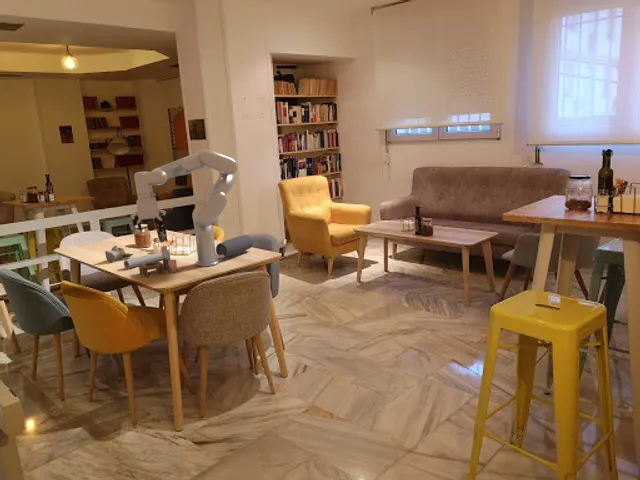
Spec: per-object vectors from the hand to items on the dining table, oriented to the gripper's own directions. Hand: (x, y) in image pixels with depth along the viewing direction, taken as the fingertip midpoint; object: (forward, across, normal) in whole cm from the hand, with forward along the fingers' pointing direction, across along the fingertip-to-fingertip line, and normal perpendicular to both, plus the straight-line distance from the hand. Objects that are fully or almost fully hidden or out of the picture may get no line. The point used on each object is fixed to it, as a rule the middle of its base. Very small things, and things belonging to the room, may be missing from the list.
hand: (150, 229), depth 259 cm
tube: (+23, +5, -21) cm, 31 cm away
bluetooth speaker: (+24, -43, -13) cm, 51 cm away
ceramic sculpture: (+22, +21, -39) cm, 49 cm away
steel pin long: (+23, -5, -3) cm, 24 cm away
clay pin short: (+23, -8, +4) cm, 25 cm away
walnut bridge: (+22, +3, +2) cm, 23 cm away
